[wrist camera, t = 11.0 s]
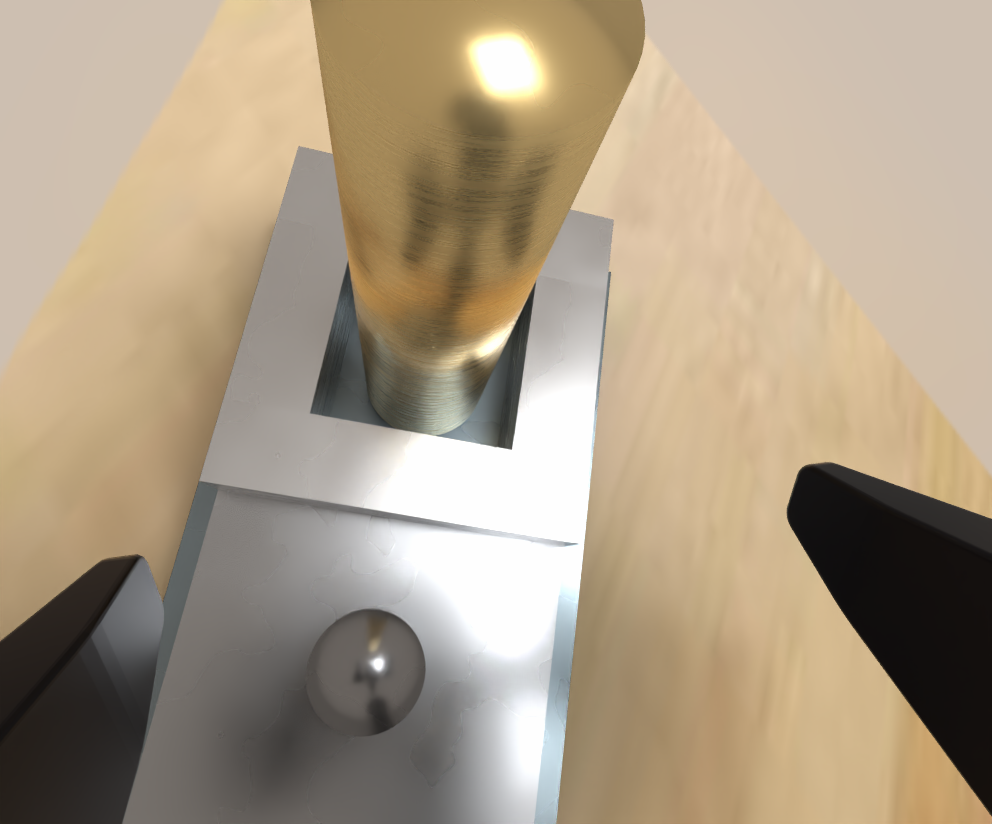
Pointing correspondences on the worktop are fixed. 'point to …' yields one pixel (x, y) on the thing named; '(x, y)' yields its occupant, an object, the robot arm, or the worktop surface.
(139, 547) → the worktop surface
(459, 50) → the pin
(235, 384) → the tiered gray console
